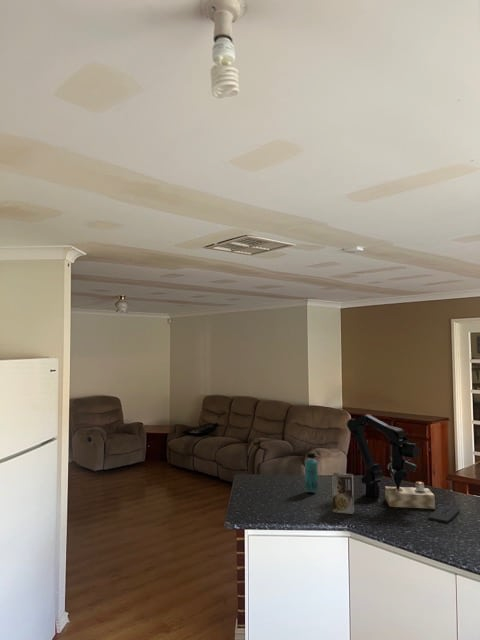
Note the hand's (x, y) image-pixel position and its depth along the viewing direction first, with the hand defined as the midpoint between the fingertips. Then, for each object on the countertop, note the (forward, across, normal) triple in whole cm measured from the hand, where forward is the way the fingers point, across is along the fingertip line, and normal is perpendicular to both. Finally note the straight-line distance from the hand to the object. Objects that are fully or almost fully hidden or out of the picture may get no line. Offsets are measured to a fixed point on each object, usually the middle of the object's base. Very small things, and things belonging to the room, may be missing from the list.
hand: (398, 488), depth 223 cm
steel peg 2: (+3, 0, -10) cm, 10 cm away
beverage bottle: (+7, +11, +41) cm, 43 cm away
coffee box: (+7, -16, +27) cm, 32 cm away
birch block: (+7, 0, -5) cm, 8 cm away
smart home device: (+8, -15, -17) cm, 24 cm away
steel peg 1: (+6, 0, 0) cm, 6 cm away
